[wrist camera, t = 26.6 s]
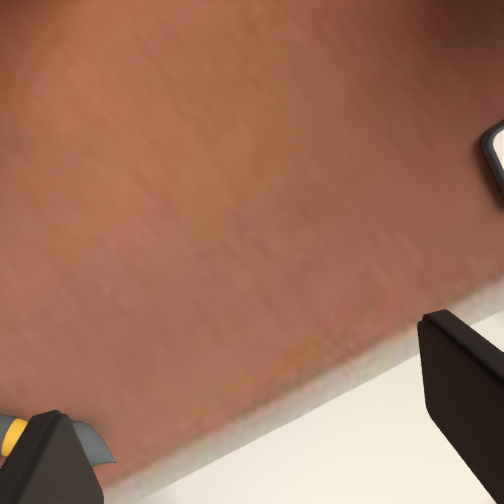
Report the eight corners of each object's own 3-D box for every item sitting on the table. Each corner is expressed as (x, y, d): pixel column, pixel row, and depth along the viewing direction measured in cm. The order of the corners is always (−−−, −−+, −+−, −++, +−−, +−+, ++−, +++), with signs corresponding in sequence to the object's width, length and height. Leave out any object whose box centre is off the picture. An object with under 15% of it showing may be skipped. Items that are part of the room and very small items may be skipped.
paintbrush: (-70, 442, 44) (-104, 480, 39) (-73, 402, 42) (-108, 437, 38) (121, 450, 47) (111, 487, 42) (124, 413, 45) (114, 447, 40)
